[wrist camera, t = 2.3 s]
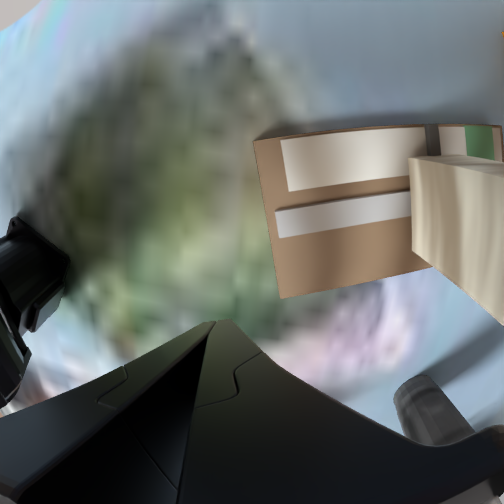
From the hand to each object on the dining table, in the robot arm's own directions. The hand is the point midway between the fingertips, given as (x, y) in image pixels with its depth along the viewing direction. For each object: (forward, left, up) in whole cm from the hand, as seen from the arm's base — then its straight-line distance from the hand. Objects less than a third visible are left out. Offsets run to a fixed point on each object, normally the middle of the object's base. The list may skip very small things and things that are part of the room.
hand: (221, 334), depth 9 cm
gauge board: (+8, +8, -12) cm, 17 cm away
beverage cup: (+24, -4, -12) cm, 27 cm away
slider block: (+9, +10, -10) cm, 16 cm away
